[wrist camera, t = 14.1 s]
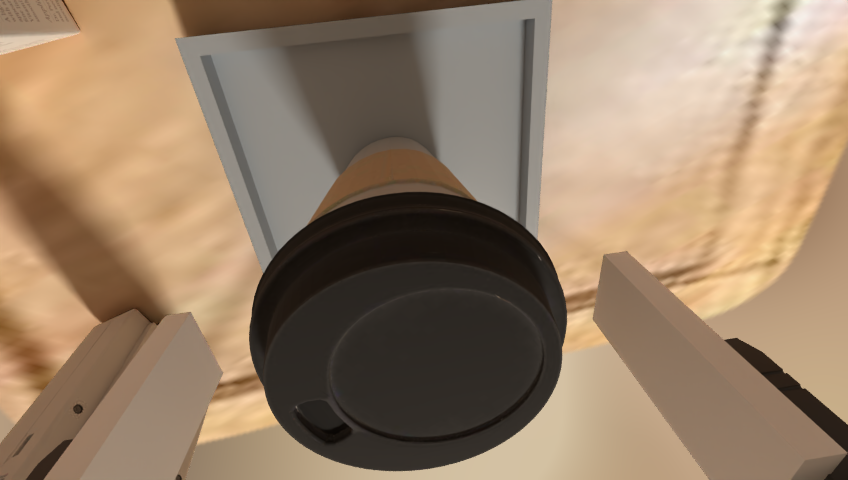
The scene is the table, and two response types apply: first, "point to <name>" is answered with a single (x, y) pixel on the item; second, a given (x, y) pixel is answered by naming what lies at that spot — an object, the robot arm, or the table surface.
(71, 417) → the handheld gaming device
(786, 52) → the table surface
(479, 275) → the coffee cup
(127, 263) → the table surface
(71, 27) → the skincare box
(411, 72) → the grey tray
